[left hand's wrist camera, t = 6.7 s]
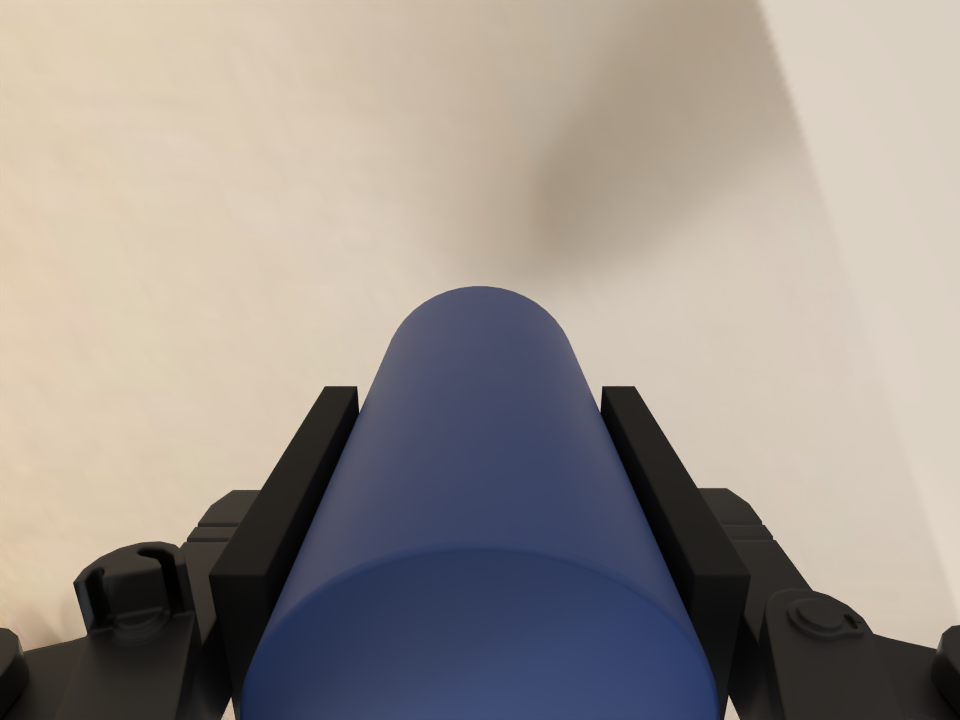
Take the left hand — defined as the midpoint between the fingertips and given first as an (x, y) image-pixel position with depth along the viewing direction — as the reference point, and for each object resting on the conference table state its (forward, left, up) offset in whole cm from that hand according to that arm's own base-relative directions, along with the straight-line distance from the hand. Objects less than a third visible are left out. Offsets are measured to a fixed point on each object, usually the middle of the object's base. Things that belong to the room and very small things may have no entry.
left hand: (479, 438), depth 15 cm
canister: (0, 0, -4) cm, 4 cm away
